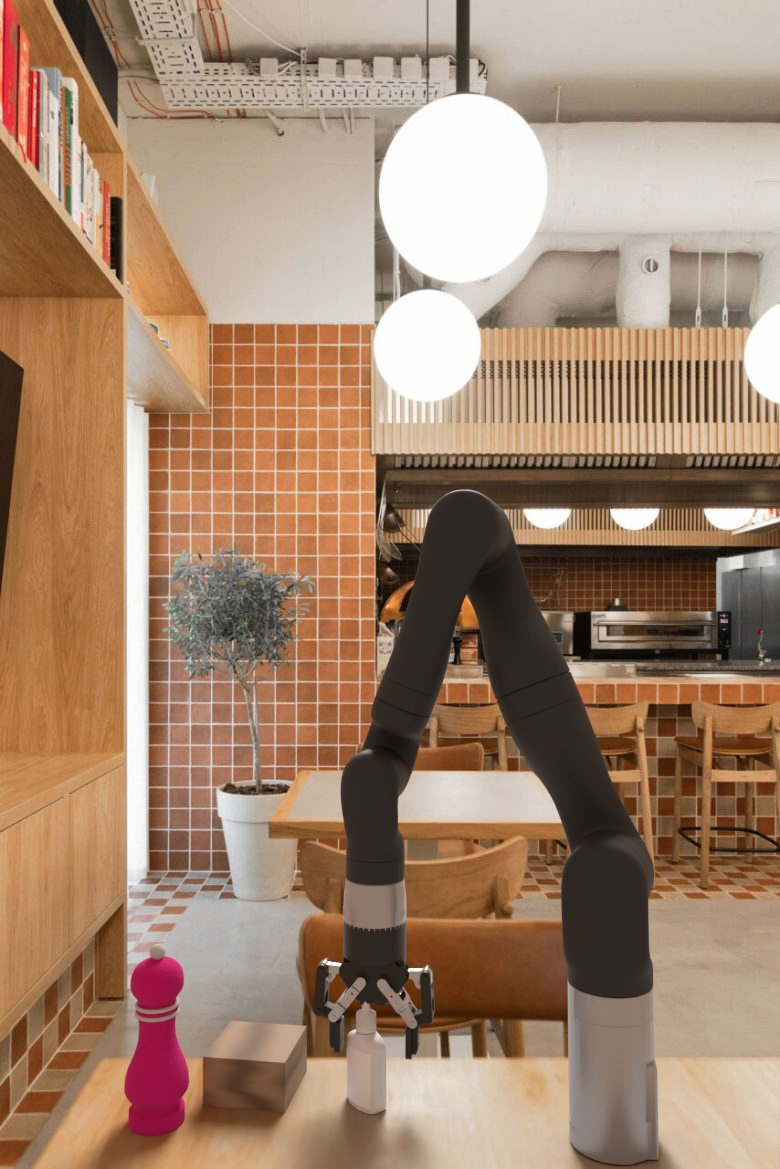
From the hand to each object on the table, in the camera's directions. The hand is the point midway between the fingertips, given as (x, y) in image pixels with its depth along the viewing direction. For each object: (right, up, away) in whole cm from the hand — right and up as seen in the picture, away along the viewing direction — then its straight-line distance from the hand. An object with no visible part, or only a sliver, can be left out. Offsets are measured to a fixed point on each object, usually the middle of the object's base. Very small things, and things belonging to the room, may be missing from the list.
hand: (373, 1053), depth 111 cm
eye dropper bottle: (-1, -6, -1) cm, 6 cm away
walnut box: (-14, -6, +3) cm, 16 cm away
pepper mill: (-25, -6, -4) cm, 26 cm away
